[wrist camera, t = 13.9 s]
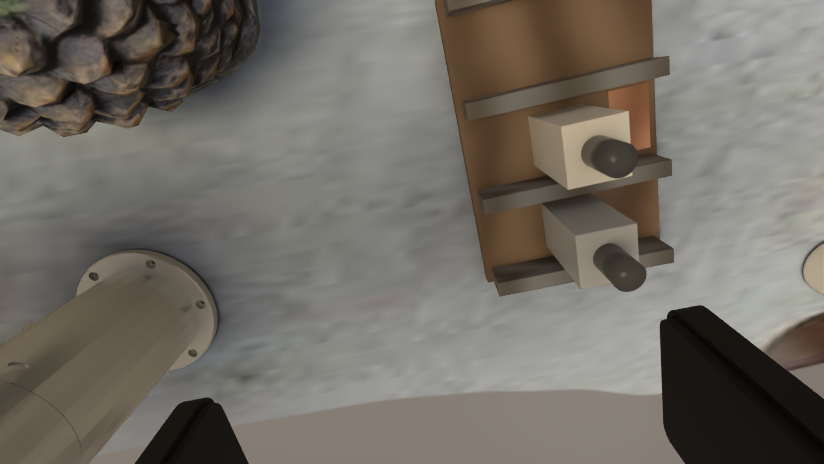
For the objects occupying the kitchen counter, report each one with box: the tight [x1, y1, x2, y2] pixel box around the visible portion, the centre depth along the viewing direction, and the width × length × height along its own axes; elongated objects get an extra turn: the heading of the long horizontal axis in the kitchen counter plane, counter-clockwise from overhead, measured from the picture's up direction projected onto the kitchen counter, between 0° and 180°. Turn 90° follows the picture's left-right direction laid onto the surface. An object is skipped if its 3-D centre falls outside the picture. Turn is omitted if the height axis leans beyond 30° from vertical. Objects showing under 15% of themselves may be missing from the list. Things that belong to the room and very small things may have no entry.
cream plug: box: [528, 104, 638, 190], centre depth 28 cm, size 4×4×11 cm
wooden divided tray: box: [435, 0, 674, 296], centre depth 33 cm, size 15×23×4 cm, turn 13°
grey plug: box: [541, 193, 646, 292], centre depth 31 cm, size 4×4×11 cm
